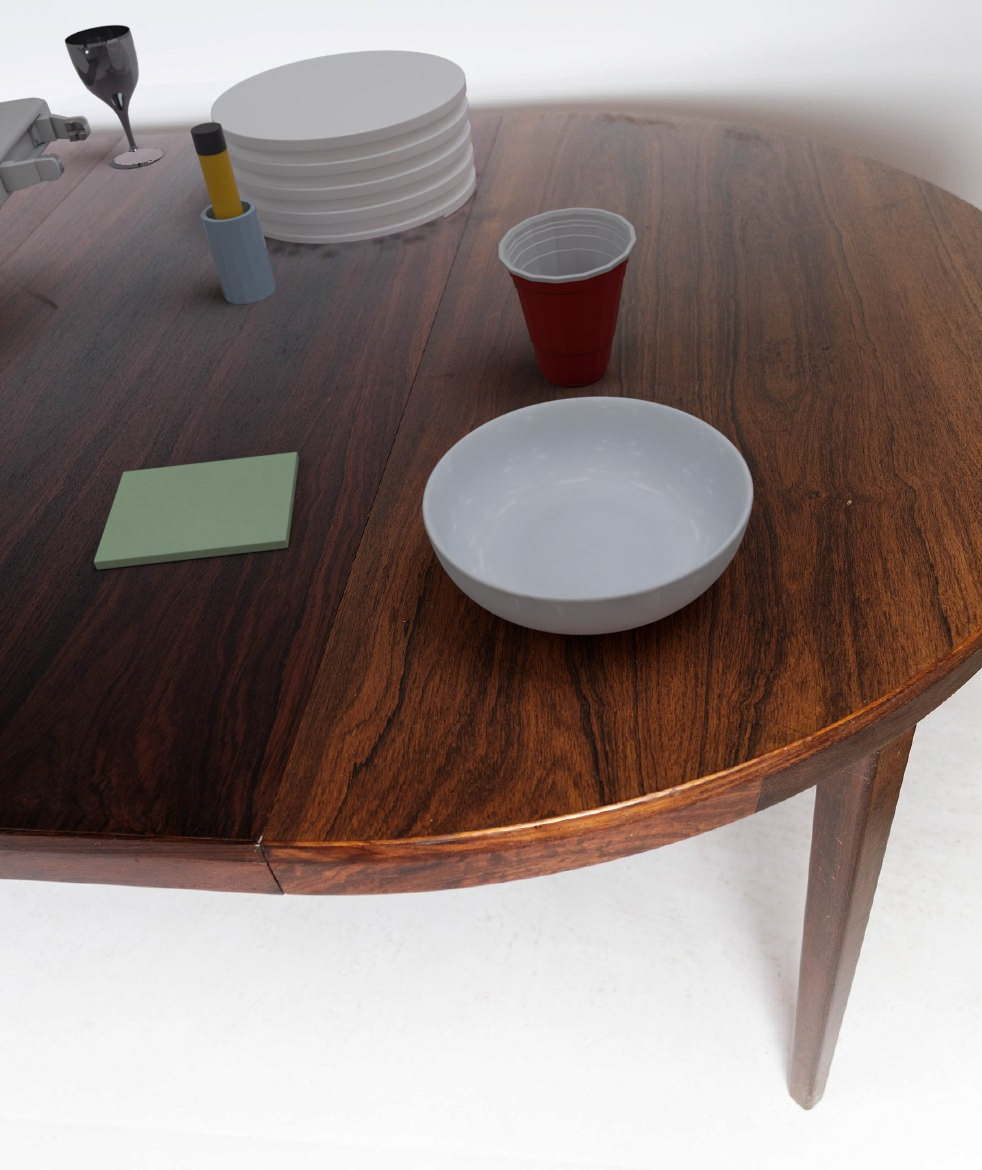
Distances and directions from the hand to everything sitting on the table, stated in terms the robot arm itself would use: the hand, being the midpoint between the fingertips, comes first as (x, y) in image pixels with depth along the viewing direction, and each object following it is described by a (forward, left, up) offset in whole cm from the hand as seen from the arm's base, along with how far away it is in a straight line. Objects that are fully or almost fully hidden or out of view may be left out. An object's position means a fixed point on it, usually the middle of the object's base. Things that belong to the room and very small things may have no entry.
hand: (74, 146), depth 96 cm
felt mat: (+12, -36, -16) cm, 41 cm away
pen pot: (+12, -1, -16) cm, 20 cm away
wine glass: (-8, +43, -16) cm, 47 cm away
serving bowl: (+40, -47, -16) cm, 64 cm away
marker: (+12, -1, -16) cm, 20 cm away
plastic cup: (+42, -22, -16) cm, 50 cm away
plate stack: (+22, +22, -16) cm, 36 cm away
